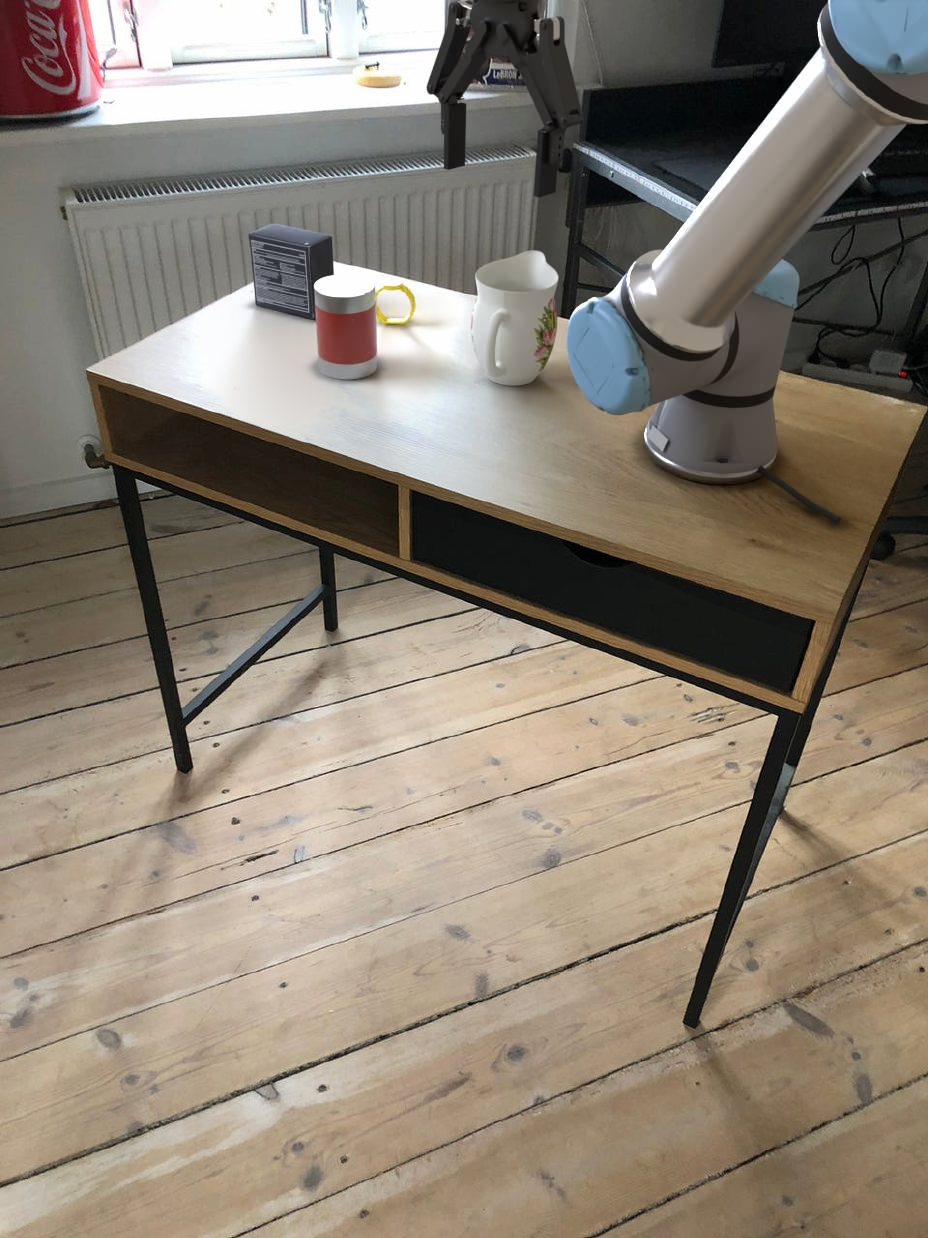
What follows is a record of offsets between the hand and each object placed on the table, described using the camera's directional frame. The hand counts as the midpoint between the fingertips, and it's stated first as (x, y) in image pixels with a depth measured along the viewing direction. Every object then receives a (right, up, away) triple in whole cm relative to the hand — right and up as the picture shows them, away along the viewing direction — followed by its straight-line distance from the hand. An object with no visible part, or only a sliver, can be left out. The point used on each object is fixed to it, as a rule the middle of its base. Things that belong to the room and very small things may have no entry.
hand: (498, 180), depth 113 cm
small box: (-29, -2, +38) cm, 47 cm away
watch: (-14, -6, +34) cm, 37 cm away
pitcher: (+2, -17, +21) cm, 27 cm away
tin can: (-19, -15, +22) cm, 33 cm away
